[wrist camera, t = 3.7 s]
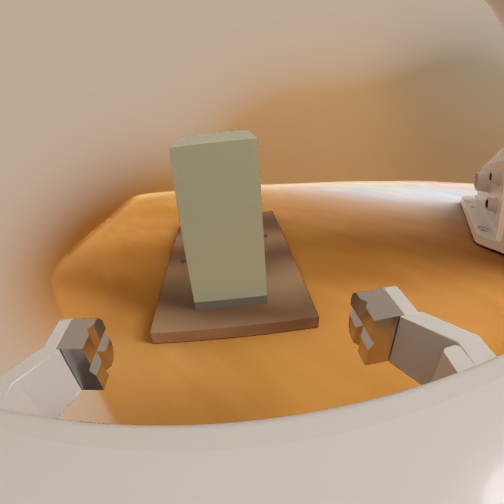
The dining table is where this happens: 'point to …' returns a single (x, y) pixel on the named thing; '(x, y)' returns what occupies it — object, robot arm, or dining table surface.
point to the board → (241, 317)
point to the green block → (221, 217)
